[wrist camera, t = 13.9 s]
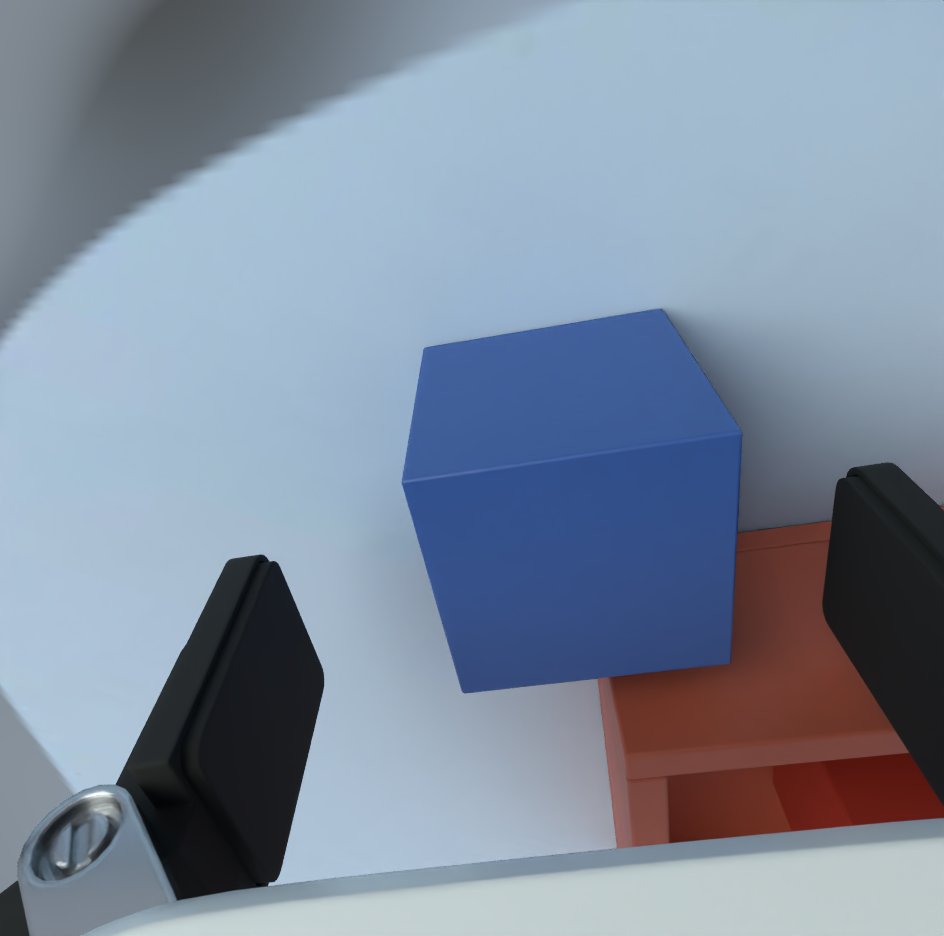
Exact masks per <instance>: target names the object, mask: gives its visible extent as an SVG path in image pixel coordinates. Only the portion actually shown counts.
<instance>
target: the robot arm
mask: <svg viewBox="0 0 944 936" xmlns="http://www.w3.org/2000/svg"><path fill="white" fill-rule="evenodd" d="M822 608H823V614H824V617H825V620H826V622H827V624H828V626H829V628H830V629H831V631H832V632H833V634H834V635H835V637H836V639H837V640H838V642H839V643H840V645H841V646H842V648H843V650H844V651H845V653H846V654H847V656H848V657H849V659H850V661H851V662H852V664H853V665H854V667H855V668H856V670H857V672H858V673H859V675H860V676H861V678H862V679H863V681H864V683H865V684H866V686H867V687H868V689H869V690H870V692H871V694H872V695H873V697H874V698H875V700H876V701H877V703H878V705H879V706H880V708H881V709H882V711H883V712H884V714H885V716H886V717H887V719H888V720H889V722H890V723H891V725H892V727H893V728H894V730H895V731H896V733H897V734H898V736H899V738H900V739H901V741H902V742H903V744H904V745H905V747H906V749H907V750H908V752H909V753H910V755H911V756H912V758H913V760H914V761H915V763H916V764H917V766H918V767H919V769H920V771H921V772H922V774H923V775H924V777H925V778H926V780H927V782H928V783H929V785H930V786H931V788H932V789H933V791H934V793H935V794H936V796H937V797H938V799H939V800H940V802H941V803H942V805H943V806H944V510H943V509H942V508H941V507H940V506H939V505H938V504H937V503H936V502H935V501H934V500H932V499H931V498H930V497H929V496H928V495H927V494H926V493H925V492H924V491H923V490H922V489H921V488H920V487H919V486H918V485H917V484H916V483H914V482H913V481H912V480H911V479H910V478H909V477H908V476H907V475H906V474H905V473H904V472H903V471H902V470H901V469H900V468H899V467H898V466H896V465H895V464H893V463H881V464H874V465H867V466H860V467H854V468H851V469H850V470H849V471H848V473H847V476H846V478H841V479H839V480H838V482H837V485H836V491H835V499H834V507H833V516H832V524H831V532H830V540H829V549H828V557H827V565H826V574H825V582H824V590H823V599H822ZM323 689H324V673H323V669H322V666H321V663H320V661H319V659H318V656H317V654H316V651H315V649H314V647H313V644H312V642H311V640H310V637H309V635H308V632H307V630H306V628H305V625H304V623H303V621H302V618H301V616H300V613H299V611H298V609H297V606H296V604H295V601H294V599H293V597H292V594H291V592H290V590H289V587H288V585H287V582H286V580H285V578H284V575H283V573H282V571H281V568H280V566H279V564H278V563H277V562H275V561H271V562H269V560H268V559H267V558H266V557H265V556H264V555H255V556H248V557H241V558H234V559H230V560H228V562H227V563H226V564H225V567H224V569H223V571H222V573H221V575H220V577H219V579H218V581H217V583H216V585H215V587H214V589H213V591H212V593H211V595H210V597H209V599H208V601H207V603H206V605H205V607H204V609H203V611H202V613H201V616H200V618H199V620H198V622H197V624H196V626H195V628H194V630H193V632H192V634H191V636H190V638H189V640H188V642H187V644H186V645H185V647H184V648H183V650H182V651H181V653H180V655H179V657H178V659H177V661H176V663H175V665H174V667H173V669H172V671H171V673H170V675H169V677H168V679H167V681H166V683H165V685H164V687H163V689H162V692H161V694H160V696H159V698H158V700H157V702H156V704H155V706H154V708H153V710H152V712H151V714H150V716H149V718H148V720H147V722H146V724H145V726H144V728H143V730H142V732H141V734H140V736H139V738H138V740H137V742H136V744H135V746H134V748H133V750H132V752H131V754H130V756H129V758H128V761H127V763H126V765H125V767H124V769H123V771H122V773H121V775H120V777H119V779H118V781H117V783H116V785H98V786H95V787H92V788H89V789H85V790H83V791H81V792H79V793H77V794H75V795H73V796H72V797H70V798H68V799H66V800H65V801H63V802H62V803H61V804H60V805H58V806H57V807H56V808H55V809H53V810H52V811H51V812H50V813H49V814H48V815H47V816H46V817H45V818H44V819H43V820H42V821H41V822H40V823H39V824H38V825H37V826H36V827H35V829H34V830H33V832H32V833H31V835H30V836H29V838H28V840H27V841H26V843H25V844H24V846H23V849H22V852H21V855H20V857H19V860H18V875H17V877H18V881H16V882H15V883H14V884H12V885H11V886H10V887H8V888H7V889H6V890H4V891H3V892H2V893H1V894H0V936H944V818H937V819H924V820H912V821H899V822H887V823H877V824H866V825H856V826H845V827H835V828H824V829H814V830H803V831H793V832H782V833H771V834H761V835H750V836H740V837H729V838H719V839H709V840H699V841H688V842H678V843H668V844H658V845H648V846H638V847H628V848H618V849H608V850H598V851H589V852H579V853H569V854H559V855H549V856H539V857H529V858H520V859H510V860H500V861H490V862H481V863H472V864H462V865H453V866H443V867H434V868H424V869H415V870H406V871H396V872H387V873H377V874H368V875H359V876H349V877H340V878H331V879H323V880H315V881H307V882H299V883H291V884H283V885H275V886H268V884H269V882H275V881H276V880H277V878H278V877H279V875H280V871H281V868H282V864H283V859H284V855H285V851H286V847H287V842H288V838H289V834H290V830H291V825H292V821H293V817H294V813H295V808H296V804H297V800H298V796H299V791H300V787H301V783H302V779H303V774H304V770H305V766H306V762H307V757H308V753H309V749H310V745H311V740H312V736H313V732H314V728H315V723H316V719H317V715H318V711H319V706H320V702H321V698H322V694H323Z"/></svg>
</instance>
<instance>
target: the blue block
mask: <svg viewBox="0 0 944 936" xmlns="http://www.w3.org/2000/svg"><path fill="white" fill-rule="evenodd" d="M741 451H742V431H741V429H740V428H739V426H738V425H737V423H736V422H735V420H734V418H733V417H732V415H731V414H730V412H729V411H728V409H727V408H726V406H725V405H724V403H723V402H722V400H721V399H720V397H719V395H718V394H717V392H716V391H715V389H714V388H713V386H712V385H711V383H710V382H709V380H708V379H707V377H706V376H705V374H704V372H703V371H702V369H701V368H700V366H699V365H698V363H697V362H696V360H695V359H694V357H693V356H692V354H691V353H690V351H689V349H688V348H687V346H686V345H685V343H684V342H683V340H682V339H681V337H680V336H679V334H678V333H677V331H676V329H675V328H674V326H673V325H672V323H671V322H670V320H669V319H668V317H667V316H666V314H665V313H664V311H663V310H662V309H655V310H649V311H643V312H637V313H631V314H625V315H619V316H613V317H607V318H601V319H595V320H589V321H583V322H577V323H571V324H565V325H559V326H553V327H547V328H541V329H535V330H529V331H523V332H517V333H511V334H505V335H499V336H493V337H487V338H481V339H475V340H469V341H463V342H457V343H451V344H445V345H439V346H433V347H427V348H424V350H423V356H422V362H421V368H420V374H419V380H418V386H417V392H416V398H415V404H414V410H413V416H412V422H411V428H410V435H409V441H408V447H407V453H406V459H405V465H404V471H403V477H402V485H403V489H404V492H405V496H406V499H407V503H408V506H409V510H410V513H411V517H412V520H413V524H414V527H415V531H416V534H417V537H418V541H419V544H420V548H421V551H422V555H423V558H424V562H425V565H426V569H427V572H428V576H429V579H430V583H431V586H432V589H433V593H434V596H435V600H436V603H437V607H438V610H439V614H440V617H441V621H442V624H443V628H444V631H445V635H446V638H447V641H448V645H449V648H450V652H451V655H452V659H453V662H454V666H455V669H456V673H457V676H458V680H459V683H460V687H461V690H462V692H463V693H473V692H482V691H491V690H500V689H509V688H518V687H527V686H536V685H545V684H554V683H563V682H572V681H580V680H589V679H598V678H607V677H616V676H625V675H634V674H643V673H652V672H661V671H670V670H679V669H688V668H697V667H706V666H715V665H724V664H729V663H731V653H732V633H733V613H734V592H735V572H736V552H737V532H738V511H739V491H740V471H741Z"/></svg>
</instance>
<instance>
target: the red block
mask: <svg viewBox="0 0 944 936" xmlns="http://www.w3.org/2000/svg"><path fill="white" fill-rule="evenodd" d="M773 784H774V787H775V789H776V792H777V795H778V797H779V800H780V802H781V805H782V807H783V810H784V812H785V815H786V818H787V820H788V823H789V825H790V828H791V830H792V832H793V831H803V830H814V829H824V828H835V827H845V826H856V825H866V824H877V823H887V822H899V821H912V820H924V819H937V818H944V806H943V805H942V803H941V802H940V800H939V799H938V797H937V796H936V794H935V793H934V791H933V789H932V788H931V786H930V785H929V783H928V782H927V780H926V778H925V777H924V775H923V774H922V772H921V771H920V769H919V767H918V766H917V764H916V763H915V761H914V760H913V758H912V756H911V755H910V753H901V754H890V755H880V756H869V757H859V758H849V759H838V760H828V761H817V762H807V763H796V764H786V765H775V766H774V774H773Z"/></svg>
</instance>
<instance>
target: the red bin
mask: <svg viewBox="0 0 944 936" xmlns="http://www.w3.org/2000/svg"><path fill="white" fill-rule="evenodd" d="M941 508H942V509H943V510H944V506H941ZM831 524H832V521H826V522H819V523H811V524H803V525H796V526H788V527H780V528H773V529H765V530H757V531H750V532H742V533H737V552H736V572H735V592H734V613H733V633H732V653H731V663H729V664H724V665H715V666H706V667H697V668H688V669H679V670H670V671H661V672H652V673H643V674H634V675H625V676H616V677H607V678H598V685H599V694H600V702H601V711H602V720H603V728H604V737H605V746H606V754H607V763H608V772H609V781H610V789H611V798H612V807H613V815H614V824H615V833H616V841H617V849H618V848H628V847H638V846H648V845H658V844H668V843H678V842H688V841H699V840H709V839H719V838H729V837H740V836H750V835H761V834H771V833H782V832H792V830H791V828H790V825H789V823H788V820H787V818H786V815H785V812H784V810H783V807H782V805H781V802H780V800H779V797H778V795H777V792H776V789H775V787H774V784H773V774H774V766H775V765H786V764H796V763H807V762H817V761H828V760H838V759H849V758H859V757H869V756H880V755H890V754H901V753H909V752H908V750H907V749H906V747H905V745H904V744H903V742H902V741H901V739H900V738H899V736H898V734H897V733H896V731H895V730H894V728H893V727H892V725H891V723H890V722H889V720H888V719H887V717H886V716H885V714H884V712H883V711H882V709H881V708H880V706H879V705H878V703H877V701H876V700H875V698H874V697H873V695H872V694H871V692H870V690H869V689H868V687H867V686H866V684H865V683H864V681H863V679H862V678H861V676H860V675H859V673H858V672H857V670H856V668H855V667H854V665H853V664H852V662H851V661H850V659H849V657H848V656H847V654H846V653H845V651H844V650H843V648H842V646H841V645H840V643H839V642H838V640H837V639H836V637H835V635H834V634H833V632H832V631H831V629H830V628H829V626H828V624H827V622H826V620H825V617H824V614H823V608H822V599H823V590H824V582H825V574H826V565H827V557H828V549H829V540H830V532H831Z"/></svg>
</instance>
